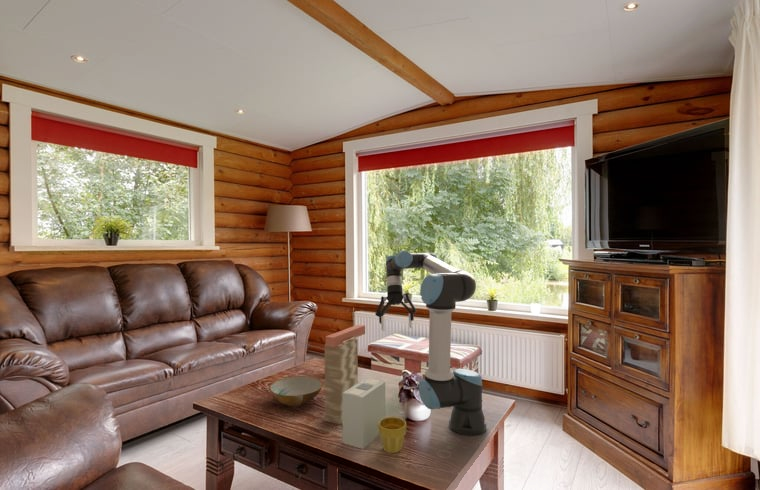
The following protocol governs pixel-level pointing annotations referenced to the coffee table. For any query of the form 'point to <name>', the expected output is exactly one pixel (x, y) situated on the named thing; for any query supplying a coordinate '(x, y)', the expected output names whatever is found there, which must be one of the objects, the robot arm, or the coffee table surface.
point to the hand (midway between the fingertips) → (396, 329)
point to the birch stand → (339, 377)
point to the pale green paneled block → (363, 412)
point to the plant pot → (392, 433)
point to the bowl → (296, 390)
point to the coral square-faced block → (344, 335)
